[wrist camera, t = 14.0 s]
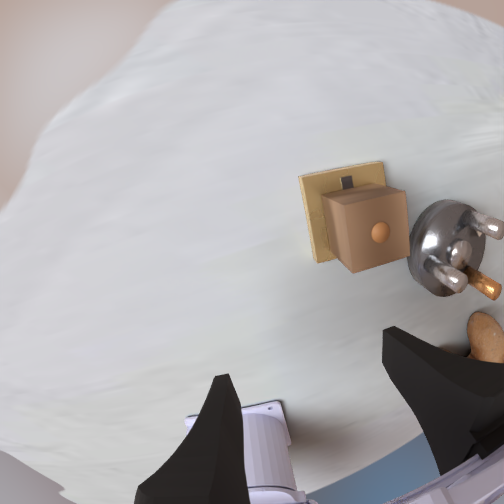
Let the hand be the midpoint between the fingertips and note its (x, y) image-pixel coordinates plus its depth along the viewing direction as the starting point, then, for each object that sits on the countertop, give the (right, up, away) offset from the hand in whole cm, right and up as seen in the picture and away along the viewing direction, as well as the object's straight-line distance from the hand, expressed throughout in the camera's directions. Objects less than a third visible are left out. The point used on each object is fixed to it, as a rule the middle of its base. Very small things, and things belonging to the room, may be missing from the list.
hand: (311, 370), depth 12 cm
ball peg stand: (+14, +6, +10) cm, 18 cm away
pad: (+4, +8, +8) cm, 12 cm away
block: (+4, +8, +7) cm, 11 cm away
